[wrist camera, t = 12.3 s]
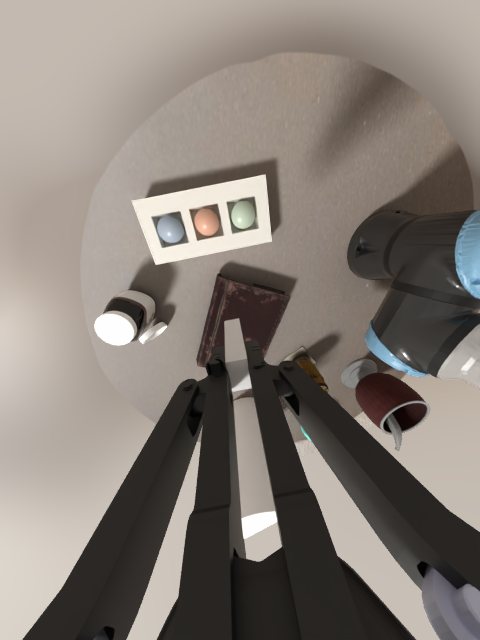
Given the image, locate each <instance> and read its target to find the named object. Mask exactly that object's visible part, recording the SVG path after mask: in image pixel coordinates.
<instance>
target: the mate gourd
mask: <svg viewBox="0 0 480 640" xmlns="http://www.w3.org/2000/svg"><path fill="white" fill-rule="evenodd" d="M341 380H342V382H343V383H344V384H345V385H346V386H347V387H351V388H356V399H357V401H358V403H359V405H360V407H361V408H362V410H363V411H364V413H365V414H366V415H367V416H368V417H369V419H370V420H371V421H372V422H373V423H374V424H375V425H377V427H379V428H380V429H381V430H382V431H383V432H384V433H386V434H391V435H393V436H394V439H395V443H396V447H395V449H396V450H397V451H399V450H400V446H401V441H402V433H405V432H407V431H410V430H412V429H414V428H415V427H417V426H418V425H420V424H421V423H422V422H423V421H424V420H425V419H426V418H427V417H428V415H429V413H430V407H429V405H428V404H427V403H426V402H425V401H424V400H423V399H422V397H420V395H419V394H418V393H417V392H415V391H414V390H413V389H412V388H410V387H409V386H408V385H407V384H406V383H404V382H403V381H401V380H399V379H398V378H396V377H394V376H392V375H389V374H383V373H377V365H376V363H375V362H374V361H372V360H370V359H359V360H356V361H354V362H352V363H350V364H349V365H348V366H347V367H346V368H345V369H344V371H343V372H342V375H341Z"/></svg>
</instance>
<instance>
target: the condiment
mask: <svg viewBox="0 0 480 640" xmlns="http://www.w3.org/2000/svg"><path fill="white" fill-rule="evenodd" d="M286 360H289V361H294V362H296V363H297V364H298V365H299V366H300V367H301V368H302V369H303V370H304V371H305V372H306V373H307V374H308V375H309V376H310V377H312V378H313V379H314V380H315V381H316V382H317V383H318V384H319V385H320V386H321V387H322V388H323V389H324V390H325V391H326V392H327V393H328V386H327V385H326V383H325V382H324V378H323V377H322V375H321V374H320V373H319V371H318V370H317V368H316V367H315V366H314V363H316V362H315V361H314V360H313V358H312V357H311V356H310V355H309V354H308V352H307V351H306V350H305V349H304V348H303V347H301V348H300V349H298V350H297V351H295V352H294V353H292V354H291V355H290V356H288V357H287V358H285V359H284V360H283V361H286Z"/></svg>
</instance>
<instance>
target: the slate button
mask: <svg viewBox="0 0 480 640" xmlns="http://www.w3.org/2000/svg"><path fill="white" fill-rule="evenodd" d="M157 229H158V233H159V235H160V237H161V238H162V239H163V240H165V241H166V242H169V243H175V242H180V241H181V240H183V238H184V237H185V227H184V225H183V224H182V222H181V221H179V220H178V219H176V218H173V217H171V216H165V217H162V218H161V219H160V220H159V222H158V225H157Z"/></svg>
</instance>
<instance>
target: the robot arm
mask: <svg viewBox="0 0 480 640" xmlns="http://www.w3.org/2000/svg"><path fill="white" fill-rule="evenodd" d="M347 259H348V264H349V267H350V269H351V271H352V272H353V273H354V274H355V275H357V276H358V277H361V278H364V279H368V280H380V279H384V278H395V280H394V282H393V284H392V285H391V287H390V289H389V291H388V293H387V295H386V296H385V298H384V300H383V302H382V304H381V305H380V307H379V309H378V311H377V313H376V314H375V316H374V318H373V319H372V320H371V322H370V326H369V328H368V331H367V333H366V335H365V341H366V343H367V346H368V348H369V349H370V350H371V351H372V352H373V353H374V354H375V355H376V356H377V357H378V358H380V359H381V360H382V361H384V362H385V363H387V364H388V365H390V366H392V367H393V368H395V369H397V370H402V371H403V372H405V373H406V374H409V375H412V376H416V377H425V376H427V375H430V374H431V375H432V376H434V377H436V378H438V379H440V380H451V379H457V380H463V381H465V382H467V383H469V384H471V385H473V386H475V387H477V388H479V389H480V314H479V313H478V310H479V309H480V209H479V210H472V211H463V212H454V213H445V214H436V215H427V216H418V215H415V214H412V213H408V212H405V211H401V210H390V211H384V212H380V213H377V214H375V215H373V216H371V217H369V218H368V219H367V220H365V221H364V222H363V223H362V224H361V225H360V226H359V228H358V229H357V230H356V232H355V233H354V235H353V237H352V239H351V241H350V244H349V247H348V253H347ZM224 327H225V346H219V347H215V348H214V350H213V351H212V359H210V360H209V361H208V362H207V363H206V365H205V367H206V370H207V373H208V376H207V377H206V378H204V379H202V380H200V381H198V382H197V381H196V380H195V379H187V380H185V381H183V382H182V383H181V384H180V385H179V386H178V388H177V390H176V391H175V393H174V395H173V397H172V398H171V400H170V402H169V404H168V405H167V407H166V409H165V410H164V412H163V414H162V416H161V417H160V419H159V421H158V423H157V424H156V426H155V428H154V430H153V431H152V433H151V435H150V437H149V438H148V440H147V442H146V443H145V445H144V447H143V449H142V450H141V452H140V454H139V456H138V457H137V459H136V461H135V462H134V464H133V466H132V468H131V469H130V471H129V473H128V475H127V476H126V478H125V480H124V482H123V483H122V485H121V487H120V489H119V490H118V492H117V494H116V496H115V497H114V499H113V501H112V502H111V504H110V506H109V508H108V509H107V511H106V513H105V514H104V516H103V518H102V520H101V521H100V523H99V525H98V527H97V529H96V530H95V532H94V534H93V535H92V537H91V539H90V540H89V542H88V544H87V546H86V547H85V549H84V551H83V553H82V555H81V556H80V558H79V560H78V561H77V563H76V565H75V566H74V568H73V570H72V572H71V573H70V575H69V577H68V579H67V580H66V582H65V584H64V586H63V587H62V589H61V590H60V591H59V593H58V594H57V595H56V597H55V598H54V599H53V601H52V602H51V603H50V604H49V606H48V607H47V609H46V610H45V611H44V612H43V614H42V615H41V616H40V618H39V619H38V620H37V622H36V623H35V624H34V625H33V627H32V628H31V629H30V630H29V632H28V633H27V634H26V636H25V637H24V638H23V640H126V639H127V637H128V634H129V632H130V630H131V627H132V625H133V623H134V621H135V618H136V616H137V614H138V611H139V608H140V605H141V603H142V600H143V597H144V595H145V592H146V589H147V587H148V584H149V580H150V578H151V575H152V572H153V569H154V566H155V563H156V560H157V557H158V554H159V551H160V548H161V545H162V542H163V539H164V537H165V534H166V531H167V528H168V524H169V522H170V519H171V516H172V513H173V510H174V507H175V504H176V501H177V498H178V495H179V492H180V489H181V487H182V484H183V481H184V478H185V475H186V472H187V469H188V466H189V463H190V460H191V457H192V454H193V451H194V448H195V445H196V442H197V440H198V437H199V434H200V431H201V428H202V425H203V428H202V438H201V448H200V457H199V467H198V477H197V487H196V497H195V506H194V510H193V512H192V513H191V515H190V517H189V520H188V524H187V531H186V538H185V547H184V555H183V563H182V571H181V580H180V588H179V596H178V599H177V600H176V602H175V604H174V606H173V607H172V609H171V611H170V613H169V615H168V617H167V619H166V621H165V624H164V626H163V628H162V630H161V632H160V634H159V636H158V638H157V640H416V639H415V638H414V637H413V636H412V635H411V633H410V632H409V631H408V630H407V629H406V628H405V627H404V626H403V625H402V623H401V622H400V621H399V620H398V619H397V618H396V617H395V616H394V614H392V612H391V611H390V610H389V609H388V608H387V606H386V605H385V604H384V603H383V602H382V601H381V600H380V598H379V597H378V596H377V595H376V594H375V593H374V592H373V591H372V589H371V588H370V587H369V586H368V585H367V584H366V583H365V582H364V581H363V579H362V578H361V577H360V576H359V575H358V574H357V573H356V572H355V571H354V569H352V568H351V567H350V566H349V565H348V564H347V563H346V562H345V561H343V560H342V559H341V558H340V557H338V556H337V554H336V551H335V548H334V545H333V543H332V540H331V537H330V534H329V531H328V529H327V526H326V523H325V520H324V518H323V515H322V512H321V509H320V506H319V504H318V501H317V499H316V496H315V494H314V492H313V490H312V489H311V488H310V486H309V484H308V481H307V478H306V475H305V472H304V470H303V467H302V464H301V461H300V458H299V455H298V452H297V449H296V446H295V444H294V441H293V438H292V435H291V432H290V429H289V426H288V423H287V421H286V418H285V415H284V412H283V409H282V406H281V403H280V400H279V397H278V396H281V397H282V399H283V401H284V402H285V403H286V405H287V406H288V408H289V409H290V411H291V412H292V414H293V415H294V416H295V418H296V419H297V421H298V422H299V424H300V425H301V426H302V428H303V429H304V431H305V432H306V434H307V435H308V436H309V438H310V439H311V441H312V442H313V444H314V445H315V447H316V448H317V449H318V451H319V452H320V454H321V455H322V457H323V458H324V459H325V461H326V462H327V464H328V465H329V466H330V468H331V470H332V471H333V472H334V474H335V475H336V477H337V478H338V480H339V481H340V482H341V484H342V485H343V487H344V488H345V490H346V491H347V492H348V494H349V495H350V497H351V498H352V500H353V501H354V502H355V504H356V505H357V507H358V508H359V510H360V511H361V513H362V514H363V515H364V517H365V518H366V520H367V521H368V523H369V524H370V525H371V527H372V528H373V530H374V531H375V533H376V534H377V536H378V537H379V538H380V540H381V541H382V542H383V544H384V545H385V546H386V548H387V549H388V551H389V552H390V553H391V555H392V556H393V557H394V559H395V560H396V561H397V562H398V564H399V565H400V566H401V567H402V568H403V569H404V571H405V572H406V573H407V574H408V576H409V577H410V578H411V579H412V580H413V582H414V583H415V584H416V585H417V586H418V587H419V588H420V589H421V590H422V599H423V604H424V608H425V611H426V613H427V616H428V618H429V621H430V623H431V625H432V627H433V628H434V630H435V632H436V634H437V635H438V637H439V638H440V640H480V532H479V531H477V530H476V529H474V528H473V527H471V526H470V525H469V524H467V523H466V522H464V521H463V520H462V519H460V518H459V517H457V516H456V515H454V514H453V513H451V512H450V511H449V510H448V509H446V508H445V506H444V505H443V504H441V503H440V502H439V501H438V500H437V499H436V498H435V497H434V496H433V495H432V494H431V493H430V492H429V491H428V490H427V489H426V488H425V487H424V486H423V485H422V484H421V483H420V482H419V481H418V480H417V479H416V478H415V477H414V476H413V475H412V474H410V472H408V471H407V470H406V469H405V468H404V467H403V466H402V465H401V464H400V463H399V462H398V461H397V460H396V459H395V458H394V457H393V456H392V455H391V454H390V453H389V452H388V451H387V450H386V449H385V448H384V447H383V446H381V444H380V443H379V442H378V441H376V440H375V439H374V438H373V437H372V436H371V435H370V434H369V433H368V432H367V431H366V430H365V429H364V428H363V427H362V426H361V425H360V424H359V423H358V422H357V421H356V420H355V419H354V418H353V417H352V416H351V415H350V414H349V413H348V412H347V411H346V410H345V409H343V408H342V407H341V406H340V405H339V404H338V403H337V402H336V401H335V400H334V399H333V398H332V397H331V396H330V395H329V394H328V393H327V392H326V391H325V390H324V389H323V388H322V387H321V386H320V385H319V384H318V383H317V382H316V381H315V380H314V379H313V378H312V377H310V376H309V375H308V374H307V373H306V372H305V371H304V370H303V369H302V368H301V367H300V366H299V365H298V364H297V363H296V362H294V361H289V360H286V361H283V362H281V363H280V364H279V366H273V365H269V364H267V363H266V362H265V361H264V358H263V355H262V352H261V349H260V346H259V343H258V342H257V341H256V340H250V341H244V340H243V335H242V331H241V326H240V321H239V318H238V319H233V320H227V321H224ZM249 388H252V392H253V397H254V402H255V407H256V413H257V418H258V423H259V428H260V434H261V439H262V444H263V449H264V454H265V460H266V465H267V470H268V475H269V481H270V486H271V491H272V496H273V502H274V507H275V512H276V517H277V522H278V528H279V533H280V538H281V544H282V547H281V548H280V549H279V550H277V551H276V552H274V553H273V554H271V555H270V556H268V557H267V558H266V559H264V560H263V561H260V562H256V561H252V560H248V559H246V553H245V544H244V537H243V530H242V517H241V503H240V489H239V475H238V460H237V446H236V432H235V417H234V403H233V395H232V392H233V391H239V390H244V389H249Z"/></svg>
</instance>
